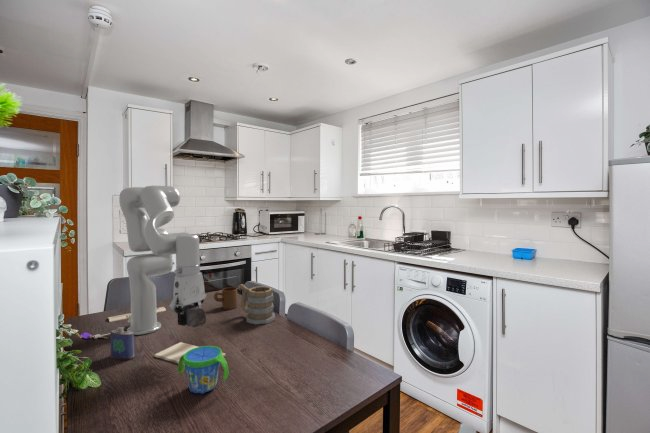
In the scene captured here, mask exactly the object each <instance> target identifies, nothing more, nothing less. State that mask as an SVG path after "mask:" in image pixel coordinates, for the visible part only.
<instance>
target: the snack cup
mask: <svg viewBox="0 0 650 433" xmlns="http://www.w3.org/2000/svg"><path fill="white" fill-rule="evenodd" d="M222 353H223V351H222V349H221V348H220V347H218V346H214V345H202V346H198V347H197V348H194V349H191V350H189V351H188V352H186V353H185V354H184V355H182V356H181V357H180V360H179V364H178V363H177V364H178V365H177V373H178V374H182V373H184V372H185V371H186V372H185V373H186V377H187V384H188V388H189V391H190V392H191V393H194V394H202V395H203V394H205V393H208V392H210V391H213V390H215V388H216V386H217V384H218V380H219V372H220V366H221V367H222V369H223V375H222V376H223V378H222V381H223V382H225V381H226V380H227V379H228V377H229V374H230V370H229V365H228V362H227V360H226V358H225V356H224V357H223V356H222ZM184 364H185V365H184Z"/></svg>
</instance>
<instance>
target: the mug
mask: <svg viewBox="0 0 650 433" xmlns="http://www.w3.org/2000/svg"><path fill="white" fill-rule="evenodd" d="M218 296H221V297H219V298H218ZM213 299H214V300H215V301H216V302H219V303H221V307H222V309H224V310H233V309H235V308H237V307H238V287H233V286H232V287H231V286H229V287H224V288H222V289H221V291H217V292H215V293H214V295H213Z"/></svg>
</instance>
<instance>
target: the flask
mask: <svg viewBox="0 0 650 433" xmlns="http://www.w3.org/2000/svg"><path fill="white" fill-rule="evenodd" d="M134 337H135V335H134V332H127V331H125V326H122V327H121V326H119V327H117V328H116V329H114V330H111V331H110V358H112V359H117V360H126V361H127V360H133V359H134V358H135V342H134V341H135V340H134V339H135V338H134Z"/></svg>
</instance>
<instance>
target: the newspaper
mask: <svg viewBox="0 0 650 433" xmlns="http://www.w3.org/2000/svg"><path fill="white" fill-rule="evenodd" d="M166 311H167V309H166V308H165V306H162V307H157V314H158V313H163V312H166ZM107 319H108V321H109V323H113V322H117V321H123V320H129V319H131V312H130V313H125V314H120V315H114V316H110V317H107Z"/></svg>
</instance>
